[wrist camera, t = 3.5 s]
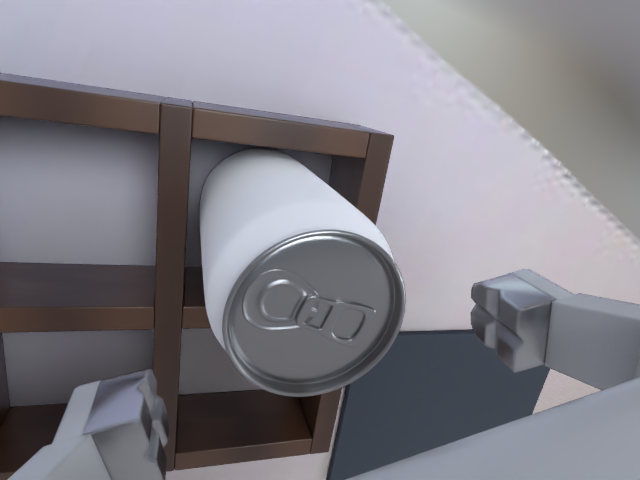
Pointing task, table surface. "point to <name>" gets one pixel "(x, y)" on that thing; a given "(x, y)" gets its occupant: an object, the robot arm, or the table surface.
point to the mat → (428, 399)
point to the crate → (172, 273)
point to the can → (294, 276)
